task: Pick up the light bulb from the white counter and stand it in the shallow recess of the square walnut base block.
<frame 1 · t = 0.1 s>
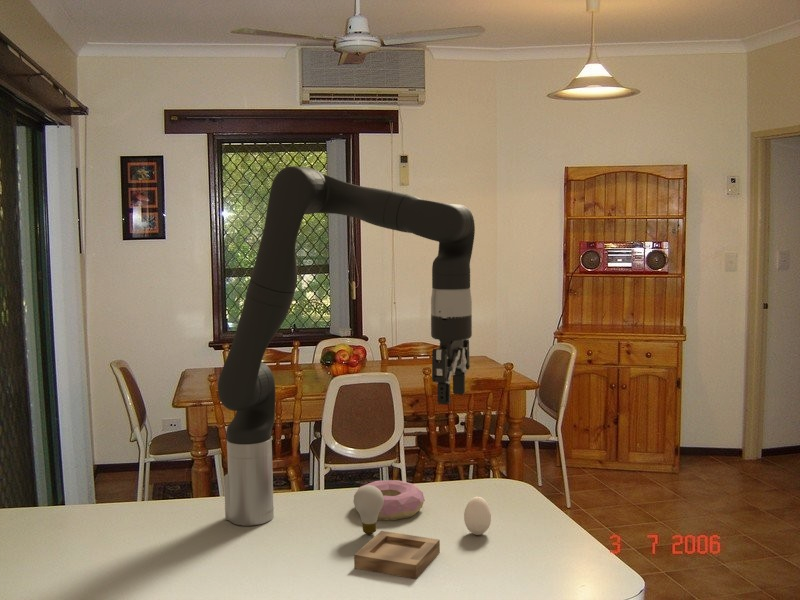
hand: (451, 399, 149), 29 cm above the kitchen counter, fingers open, 8 cm apart
egg: (477, 535, 159), on the kitchen counter
donut: (388, 511, 174), on the kitchen counter
base: (397, 560, 148), on the kitchen counter
light bulb: (369, 535, 160), on the kitchen counter
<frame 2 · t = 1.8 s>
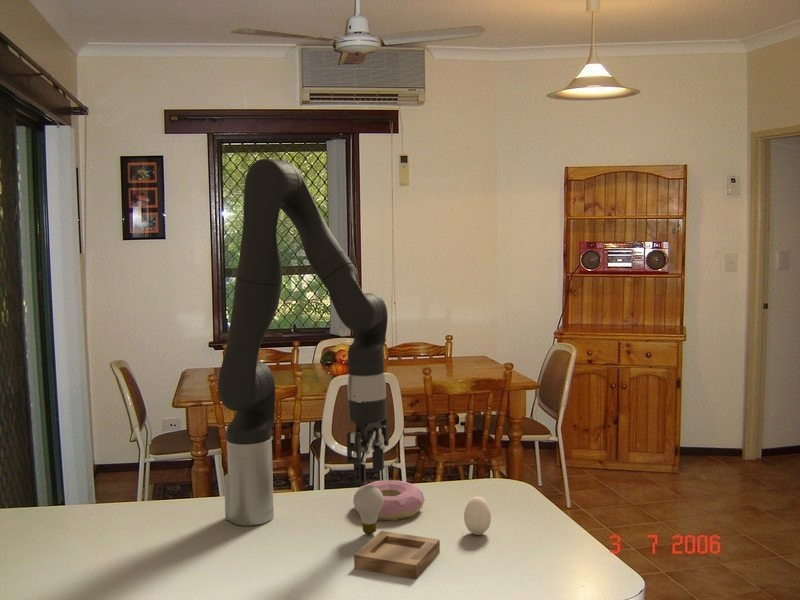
hand: (369, 476, 159), 12 cm above the kitchen counter, fingers open, 8 cm apart
nothing on the kitchen counter moved.
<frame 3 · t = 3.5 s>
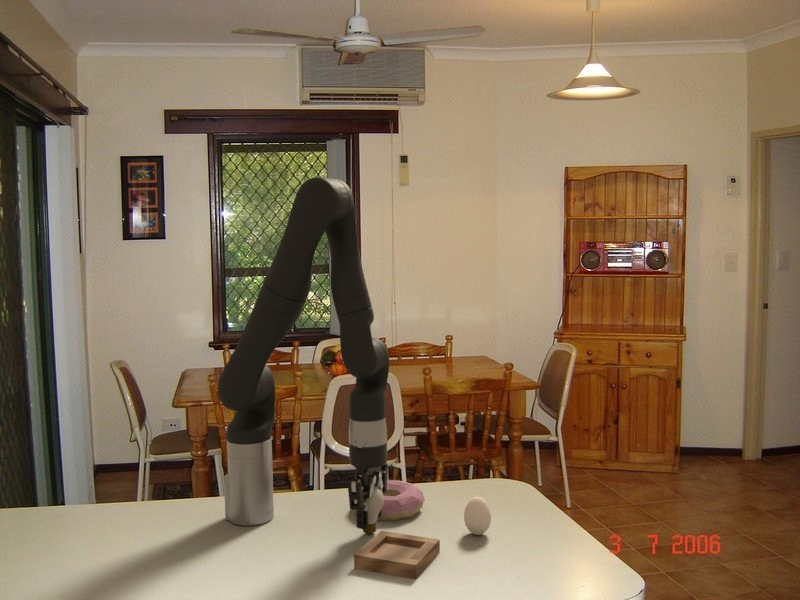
hand: (369, 522, 160), 3 cm above the kitchen counter, fingers closed on light bulb, 5 cm apart
light bulb: (369, 535, 160), on the kitchen counter, touching gripper
everything else where it was.
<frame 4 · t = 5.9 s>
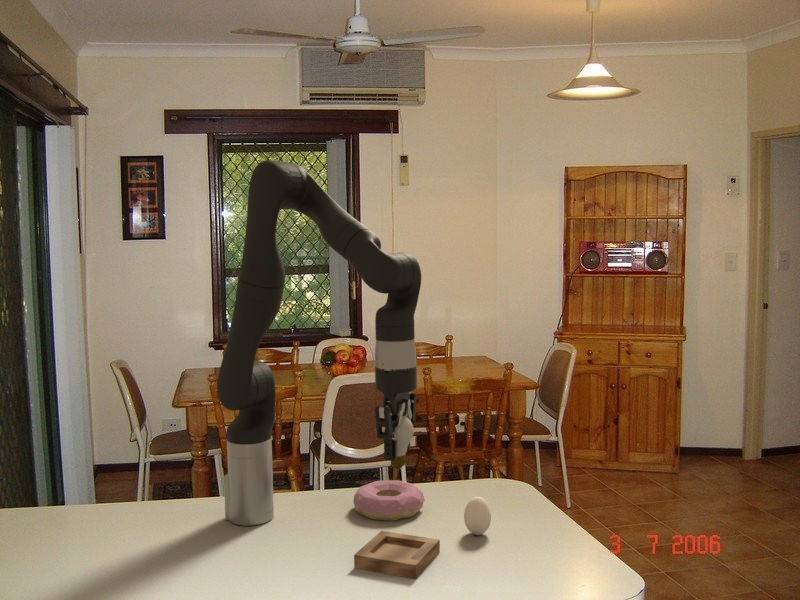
hand: (397, 454, 146), 20 cm above the kitchen counter, fingers closed on light bulb, 5 cm apart
light bulb: (398, 469, 146), point 17 cm above the kitchen counter, touching gripper
everything else where it was.
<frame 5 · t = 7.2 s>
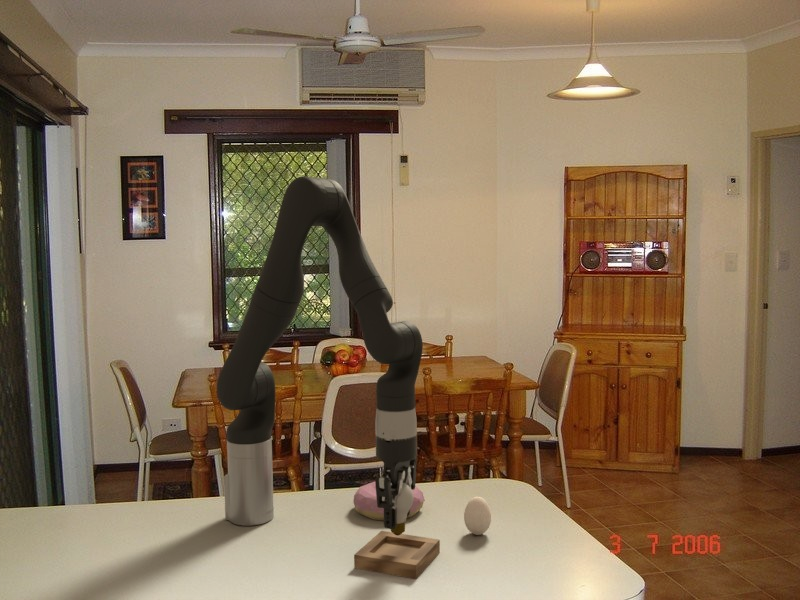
hand: (397, 521, 147), 7 cm above the kitchen counter, fingers closed on light bulb, 5 cm apart
light bulb: (397, 535, 147), point 5 cm above the kitchen counter, touching gripper
everything else where it was.
when the fingers open (4 cm above the kitchen counter, at t = 8.3 s): light bulb stays where it is, resting on base.
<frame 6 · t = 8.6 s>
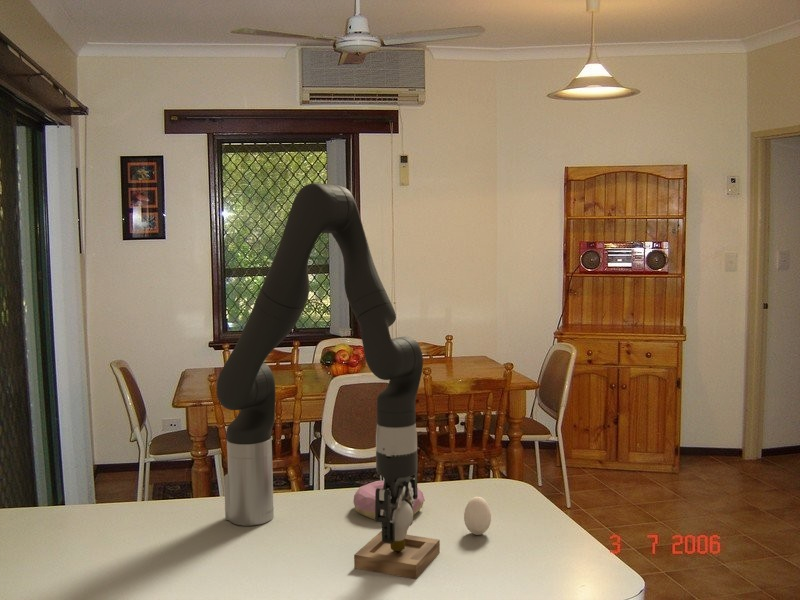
hand: (397, 533, 147), 5 cm above the kitchen counter, fingers open, 8 cm apart
light bulb: (397, 553, 148), point 1 cm above the kitchen counter, touching base
everything else where it was.
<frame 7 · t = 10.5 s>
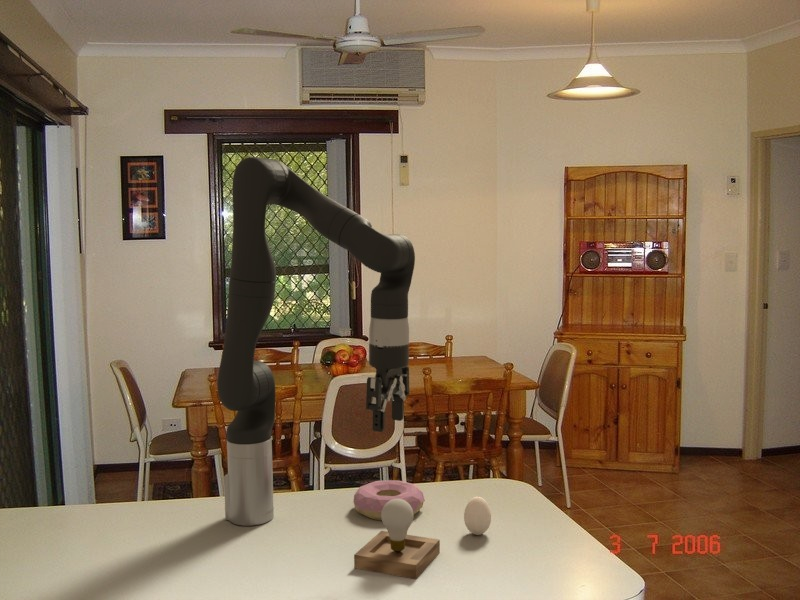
hand: (388, 425, 152), 24 cm above the kitchen counter, fingers open, 8 cm apart
nothing on the kitchen counter moved.
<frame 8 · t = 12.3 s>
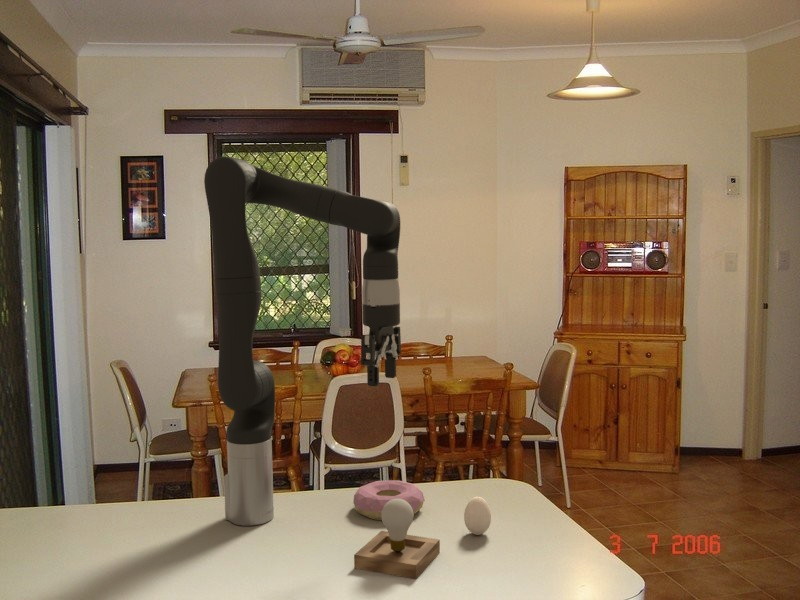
hand: (382, 381, 161), 30 cm above the kitchen counter, fingers open, 8 cm apart
nothing on the kitchen counter moved.
at the end: light bulb inside the target area on the base (0.1 cm from its centre), point 1.3 cm above the base's base; light bulb tilted 0°; the gripper is holding nothing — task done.
